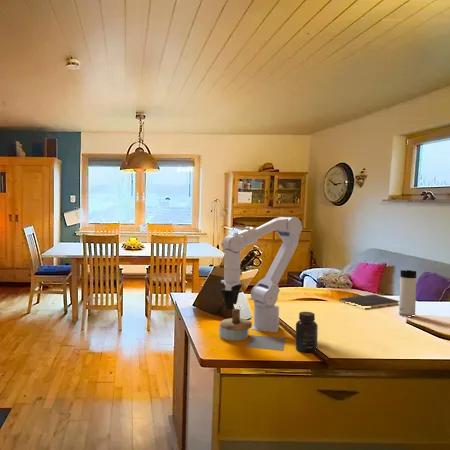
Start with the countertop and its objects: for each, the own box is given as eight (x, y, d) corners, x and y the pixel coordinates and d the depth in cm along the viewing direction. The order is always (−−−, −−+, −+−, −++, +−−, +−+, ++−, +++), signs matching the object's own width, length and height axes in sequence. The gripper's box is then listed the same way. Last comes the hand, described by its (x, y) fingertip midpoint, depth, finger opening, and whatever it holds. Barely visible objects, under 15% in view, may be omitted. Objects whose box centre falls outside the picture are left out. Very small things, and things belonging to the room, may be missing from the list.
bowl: (250, 333, 136) (250, 322, 135) (245, 342, 126) (245, 330, 126) (223, 330, 138) (223, 320, 138) (216, 340, 128) (216, 328, 128)
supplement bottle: (292, 346, 123) (293, 310, 122) (313, 346, 123) (314, 310, 123) (298, 354, 116) (299, 316, 115) (320, 354, 116) (321, 316, 116)
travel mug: (399, 316, 160) (400, 269, 159) (398, 312, 166) (400, 267, 165) (415, 318, 158) (417, 271, 157) (414, 314, 164) (415, 268, 163)
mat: (285, 339, 130) (285, 338, 130) (283, 351, 118) (283, 350, 118) (251, 336, 132) (251, 335, 132) (245, 348, 121) (245, 347, 121)
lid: (254, 322, 135) (255, 307, 135) (247, 331, 125) (247, 315, 124) (225, 319, 138) (225, 304, 138) (216, 328, 128) (216, 312, 128)
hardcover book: (399, 305, 181) (399, 301, 181) (363, 310, 171) (363, 305, 171) (373, 298, 195) (373, 294, 195) (339, 302, 185) (339, 298, 185)
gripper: (225, 265, 142) (224, 301, 143) (216, 271, 128) (216, 310, 128) (243, 266, 141) (243, 302, 141) (237, 272, 126) (236, 312, 127)
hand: (231, 306), depth 135 cm, fingers open, 7 cm apart
